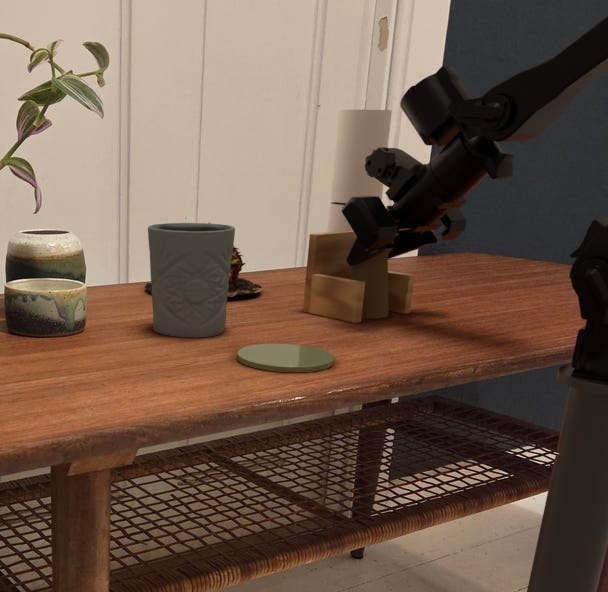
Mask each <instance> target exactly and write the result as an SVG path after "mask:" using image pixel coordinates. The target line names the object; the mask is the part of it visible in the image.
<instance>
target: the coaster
mask: <svg viewBox="0 0 608 592" xmlns="http://www.w3.org/2000/svg"><path fill="white" fill-rule="evenodd" d="M236 359H237V361H238V362H239V363H240V364H243V365H245V366H247V367H250V368H254V369H256V370H257V369H258V370H261V371H268V372H277V373H292V374H293V373H313V372H318V371H319V372H320V371H323V370H327V369H329V368H331V367H332V366H333V365H334V359H335V357H334V355H333V354H331V353H330V352H329V351H326V350H324V349H321V348H317V347H312V346H308V345H302V344H292V343H291V344H290V343H259V344H252V345H247V346H243V347H241V348H240V349H238V351H237V352H236Z"/></svg>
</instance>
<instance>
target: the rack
mask: <svg viewBox="0 0 608 592" xmlns="http://www.w3.org/2000/svg"><path fill="white" fill-rule="evenodd" d="M353 235H354V231H353V230H349V231H338V232H328V231H326V232H316V233H309V238H308V239H309V240H308V250H307V260H306V261H307V262H306V272H305V281H304V282H305V283H304V294H303V304H302V305H303V306H302V313H303V312H304V313H307V314H312V315H318V316H322V317H326V318H331V319H335V320H340V321H344V322H347V323H348V322H350V323H353V324H356V323H357V324H358V323H361V322H362V318H361V317H362V308H363V299H364V290H365V282H362V281H357V280H351V279H349V277H350V273H351V269H352V266H349V264H348V263H347V257H348V255H349V253H350V251H351V249H352V238H353ZM415 278H416V274H412V273H405V272H400V271H393V270H388V312H394V313H398V314H402V315H406V314H410V313H411V307H412V301H413V293H414V285H415Z"/></svg>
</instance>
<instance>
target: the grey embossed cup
mask: <svg viewBox="0 0 608 592" xmlns="http://www.w3.org/2000/svg"><path fill="white" fill-rule="evenodd" d="M208 223H209V222H208ZM208 223H205V222H170V223H169V222H168V223H167V222H166V223H156V224H151V225H149V226H148V227H147V239H148V249H149V269H150V270H149V271H150V272H149V273H150V283H152V292H151V302H152V323H153V330H154V332H156V333H157V334H161V335H163V336H164V335H165V336H171V337H177V338H209V337H214V336H219V335H221V334H223V333H224V332H225V329H226V323H227V303H228V297H227V296H228V289H229V277H230V266H231V259H232V253H233V246H234V243H235V234H236V227H235V226H232V225H229V224H220V223H211V224H208Z"/></svg>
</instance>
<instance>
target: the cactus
mask: <svg viewBox="0 0 608 592" xmlns="http://www.w3.org/2000/svg"><path fill="white" fill-rule="evenodd" d="M208 224H212V222H210V221H209V222H208ZM242 257H244V255H243V254H241V251H239V248H238V247H236V246H235V245H233V253H232V259H231V266H230V277H229V289H228V296H227V298H233V297H236V296H237V297H238V296H243V295H251V294H257V293H260V292H261V291H262V290H263V286H262V285H260V284H259V283H254V282H252V281H251V280H248V279H246V278H243V277H239V275H240V272H242V269H243V266H245V265H246V264H247V263H246V262H243V259H242ZM144 289H146V290H147V291H149V292H151V293H152V283H151V282H147V283H146V284H145V285H144Z"/></svg>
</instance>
